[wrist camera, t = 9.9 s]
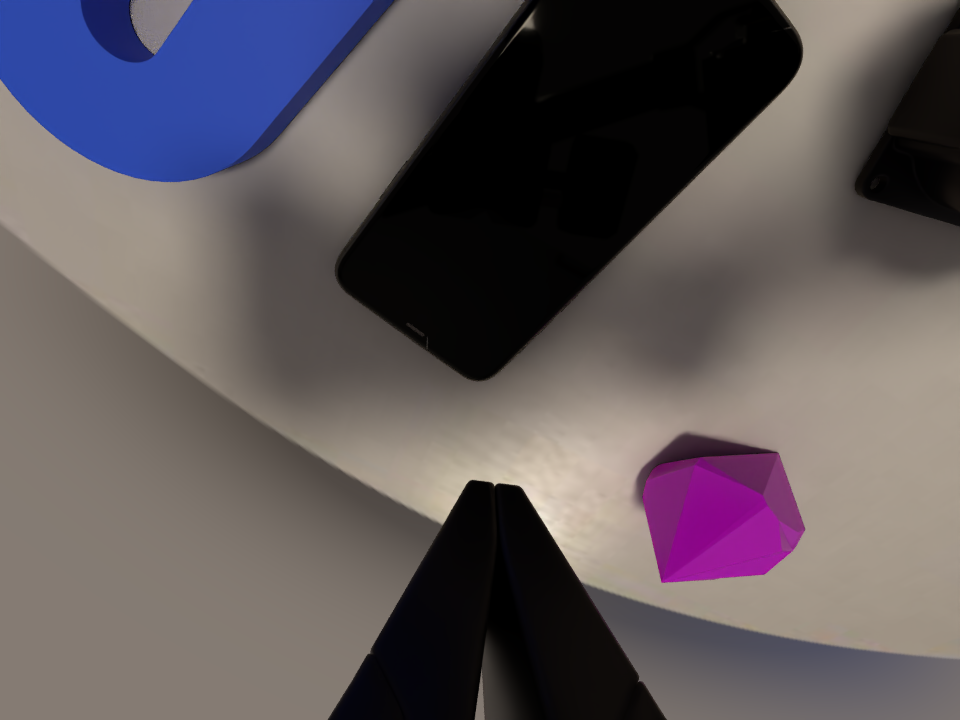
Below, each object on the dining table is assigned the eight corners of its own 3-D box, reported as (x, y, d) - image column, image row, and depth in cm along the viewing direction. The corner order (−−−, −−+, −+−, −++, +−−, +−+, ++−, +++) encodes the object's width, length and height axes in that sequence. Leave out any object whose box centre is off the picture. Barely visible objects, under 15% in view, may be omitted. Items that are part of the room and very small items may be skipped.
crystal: (714, 530, 26) (755, 617, 22) (619, 494, 24) (644, 579, 20) (787, 456, 23) (849, 538, 19) (685, 412, 22) (728, 490, 18)
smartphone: (640, -159, 13) (326, 270, 19) (649, -173, 13) (320, 278, 18) (807, 57, 16) (482, 383, 21) (823, 57, 15) (482, 394, 21)
